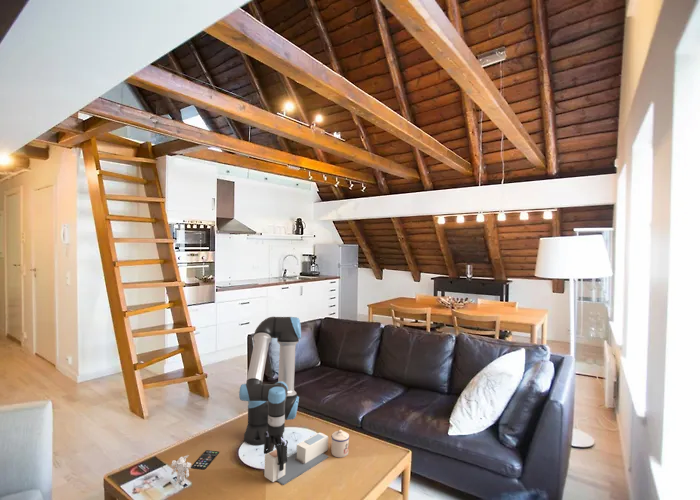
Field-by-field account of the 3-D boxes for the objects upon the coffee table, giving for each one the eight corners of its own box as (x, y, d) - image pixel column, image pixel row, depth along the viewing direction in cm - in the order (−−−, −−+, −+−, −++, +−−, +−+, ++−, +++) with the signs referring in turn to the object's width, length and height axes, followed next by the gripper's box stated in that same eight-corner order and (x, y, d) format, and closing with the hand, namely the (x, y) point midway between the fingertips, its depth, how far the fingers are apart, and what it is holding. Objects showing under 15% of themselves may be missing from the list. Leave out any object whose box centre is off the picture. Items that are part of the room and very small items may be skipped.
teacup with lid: (347, 459, 188) (347, 436, 188) (329, 456, 190) (329, 433, 189) (351, 446, 200) (351, 424, 200) (334, 444, 201) (334, 422, 201)
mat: (263, 472, 176) (263, 470, 176) (308, 446, 198) (308, 445, 198) (283, 485, 167) (283, 484, 167) (328, 457, 189) (328, 456, 189)
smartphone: (220, 451, 191) (205, 469, 176) (220, 452, 191) (204, 470, 176) (206, 449, 192) (189, 467, 177) (206, 451, 192) (189, 468, 177)
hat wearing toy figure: (192, 481, 168) (193, 454, 167) (187, 487, 164) (187, 459, 163) (173, 478, 169) (174, 452, 169) (168, 484, 165) (168, 457, 165)
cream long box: (294, 459, 185) (294, 445, 185) (319, 445, 199) (319, 431, 198) (303, 464, 181) (303, 449, 181) (327, 449, 195) (328, 435, 195)
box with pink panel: (264, 476, 171) (264, 454, 171) (276, 469, 177) (277, 448, 176) (273, 482, 167) (273, 459, 167) (285, 474, 173) (285, 453, 172)
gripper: (256, 419, 174) (255, 468, 175) (283, 433, 162) (282, 486, 163) (269, 413, 180) (268, 461, 181) (296, 427, 168) (295, 478, 169)
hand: (274, 473), depth 172 cm, fingers closed on box with pink panel, 6 cm apart
